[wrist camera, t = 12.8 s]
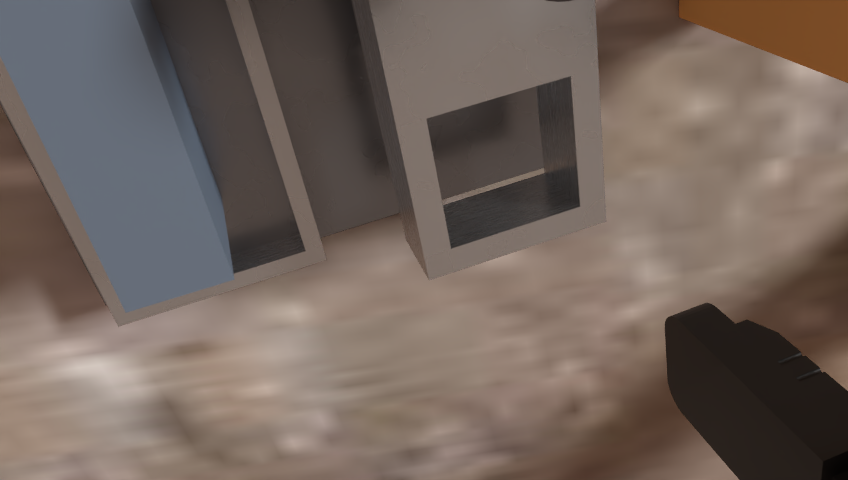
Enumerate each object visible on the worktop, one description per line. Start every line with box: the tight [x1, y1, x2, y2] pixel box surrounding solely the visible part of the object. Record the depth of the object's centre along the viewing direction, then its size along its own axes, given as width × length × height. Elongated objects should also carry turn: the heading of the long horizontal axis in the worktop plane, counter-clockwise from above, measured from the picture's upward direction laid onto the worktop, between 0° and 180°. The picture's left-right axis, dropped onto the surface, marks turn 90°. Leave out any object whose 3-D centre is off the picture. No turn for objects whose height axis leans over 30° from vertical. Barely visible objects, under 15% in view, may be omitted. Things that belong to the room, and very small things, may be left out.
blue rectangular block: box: [0, 0, 235, 313], centre depth 23 cm, size 4×10×6 cm, turn 10°
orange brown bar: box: [679, 0, 848, 83], centre depth 27 cm, size 3×3×12 cm
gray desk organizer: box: [0, 0, 606, 327], centre depth 22 cm, size 16×20×14 cm
